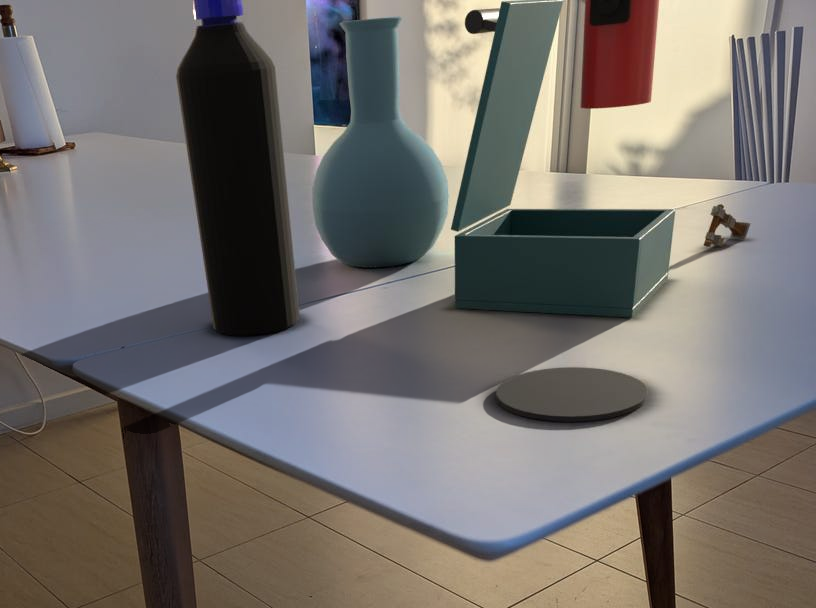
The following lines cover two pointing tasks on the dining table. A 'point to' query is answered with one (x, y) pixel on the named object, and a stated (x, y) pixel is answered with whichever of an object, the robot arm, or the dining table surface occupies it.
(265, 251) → the bottle
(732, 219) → the wooden post with brackets
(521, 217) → the teal rectangular open box
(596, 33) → the can
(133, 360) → the dining table surface
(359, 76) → the vase
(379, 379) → the dining table surface
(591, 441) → the dining table surface
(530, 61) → the lid
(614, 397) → the coaster
